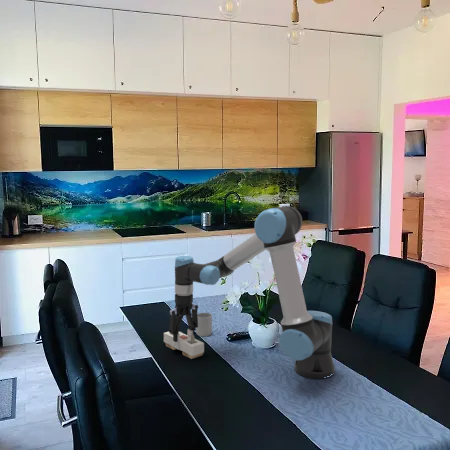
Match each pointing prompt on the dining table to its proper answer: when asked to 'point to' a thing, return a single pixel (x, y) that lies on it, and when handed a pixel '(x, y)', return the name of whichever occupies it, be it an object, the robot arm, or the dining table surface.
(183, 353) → the wooden peg stand
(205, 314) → the cup
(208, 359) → the dining table surface
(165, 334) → the power strip
